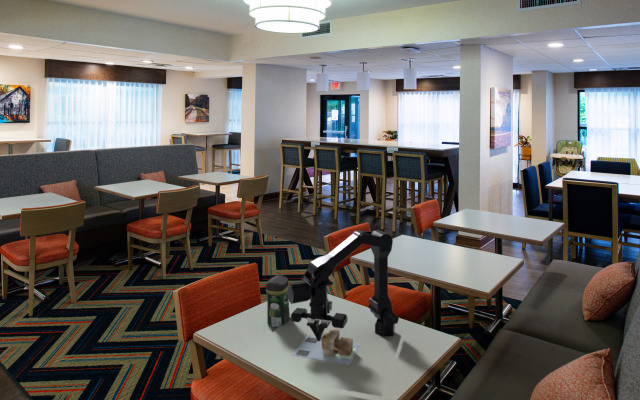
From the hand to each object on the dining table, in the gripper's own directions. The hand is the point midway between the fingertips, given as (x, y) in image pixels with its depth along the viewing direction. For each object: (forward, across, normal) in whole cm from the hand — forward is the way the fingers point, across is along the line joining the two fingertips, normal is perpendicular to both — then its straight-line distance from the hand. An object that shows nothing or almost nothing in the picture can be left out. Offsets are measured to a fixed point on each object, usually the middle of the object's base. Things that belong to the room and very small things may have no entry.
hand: (319, 340), depth 156 cm
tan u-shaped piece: (+3, -6, 0) cm, 7 cm away
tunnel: (+3, -5, 0) cm, 5 cm away
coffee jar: (+4, +22, -16) cm, 28 cm away
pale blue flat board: (+4, -3, 0) cm, 5 cm away
